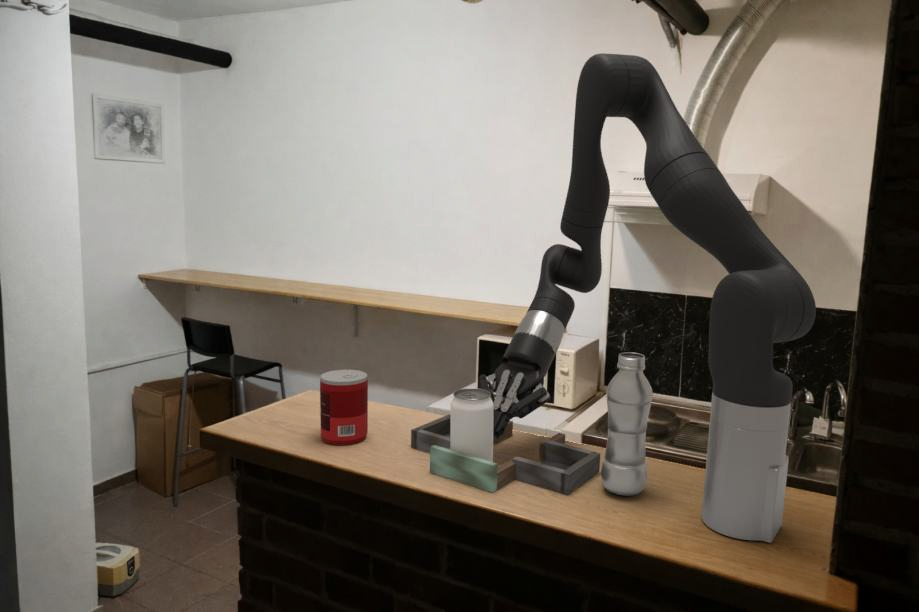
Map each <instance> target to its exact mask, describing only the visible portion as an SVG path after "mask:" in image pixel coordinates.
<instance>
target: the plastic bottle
mask: <svg viewBox="0 0 919 612" xmlns="http://www.w3.org/2000/svg"><path fill="white" fill-rule="evenodd" d="M616 365H617V367H616V368H617V369H618V372H616V374H615V375H614V376H612V379H611V380H610V382H608V385H607V387H606V405H607V407H606V408H607V438H606V439H607V440H606V447H605V454H604V457H603V460H602V464H601V465H602V466H601V469H600V475H601V483H602V484H603V486H604V488H605V490H607V491H608V492H609V493H613V494H615V495H619V496H635V495H636V496H637V495H639V494H640V493H641V492H642V491H643V490H644V489H645V487H646V484H647V481H648V466H647V465H648V464H647V461H646V437H647V436H646V435H647V432H646V431H647V428H648V420H649V417H650V416H649V415H650V410H651V405H652V401H653V395H654V393H653V388H652V386H651V384H650V381H649V380H648V378H647V377H646V376H645V373H644V370H645V371H646V356H645V355H644V354H642V353H639V352H630V351H629V352H621V353H619V354H618V362H617V364H616Z"/></svg>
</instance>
